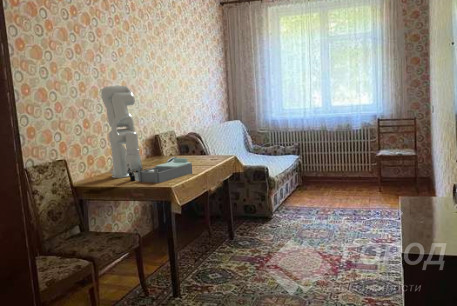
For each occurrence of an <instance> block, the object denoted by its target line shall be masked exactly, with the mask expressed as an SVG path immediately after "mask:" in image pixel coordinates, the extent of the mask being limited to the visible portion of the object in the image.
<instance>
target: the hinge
mask: <svg viewBox="0 0 457 306" xmlns="http://www.w3.org/2000/svg"><path fill="white" fill-rule="evenodd" d="M174 158H178V157H177V156H172V157H170V158H169V159H167V160H166V162H165V163H168V162H174Z"/></svg>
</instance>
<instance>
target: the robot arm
mask: <svg viewBox="0 0 457 306" xmlns="http://www.w3.org/2000/svg"><path fill="white" fill-rule="evenodd" d="M100 92H101V93H100V94H101V95H100V96H101V99H102V102H103V104H104V106H105V108H106V114H107V115H106V116H107V121H108V125H109V127H110V128H111V131H109V133H108V139H109V144H110V148H111V150H110V151H111V157H112V167H113V168H112V170H111V171H110V173H111V174H112V175H111V178H113V179H116V178H117V179H121V178H127V177H129V178H130V181H129V182H136V181H135V176H134V172H138V169H141V171H143V169H144V167H143V166H142V158H141V154H140V149H139V146H140V145H139V139H138V136H139V135H138V133H137V132H136V130H135V123H134V119H133V118H134V117H133V116H132V114H131V113H130V112H129V109H128V107H129V106H133V105H135V102H136V98H135V95H134V93H133V92H132V91H131V89H130V88H129V87H128V86H126V85H114V86H113V85H111V86H105V87H103V88H102V89H101V91H100ZM124 144H125V146H124Z"/></svg>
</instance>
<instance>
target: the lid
mask: <svg viewBox="0 0 457 306" xmlns="http://www.w3.org/2000/svg"><path fill="white" fill-rule="evenodd" d="M188 164H192V161H188V158H187V157H186V158H185V157H177V158H174V162H168V163H166V162H165V163H161V164H157V165H155V167H170V168H177V167H181V166H184V165H188Z"/></svg>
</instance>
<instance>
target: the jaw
mask: <svg viewBox="0 0 457 306" xmlns="http://www.w3.org/2000/svg"><path fill="white" fill-rule="evenodd" d="M134 176H135V181H134V182H136V181H139V179H138V172H136V171H134Z"/></svg>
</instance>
